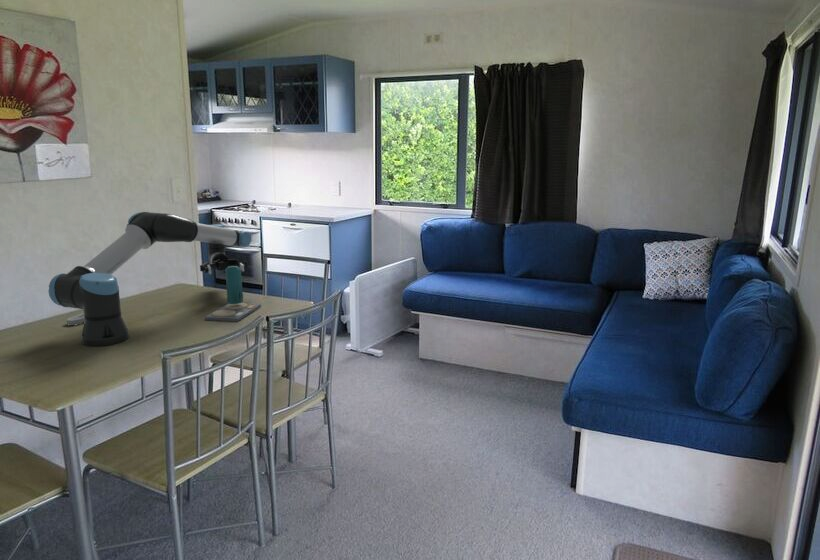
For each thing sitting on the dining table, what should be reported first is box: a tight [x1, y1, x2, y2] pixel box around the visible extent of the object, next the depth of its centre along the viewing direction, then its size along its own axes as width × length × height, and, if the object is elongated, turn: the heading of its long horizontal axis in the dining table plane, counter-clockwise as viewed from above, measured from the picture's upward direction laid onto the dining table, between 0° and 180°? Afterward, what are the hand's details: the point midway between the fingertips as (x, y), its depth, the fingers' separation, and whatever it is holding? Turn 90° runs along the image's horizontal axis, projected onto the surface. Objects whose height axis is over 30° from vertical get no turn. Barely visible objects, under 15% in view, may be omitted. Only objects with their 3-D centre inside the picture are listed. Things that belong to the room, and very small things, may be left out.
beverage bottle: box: [224, 258, 244, 304], centre depth 248 cm, size 6×7×20 cm
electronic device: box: [66, 312, 85, 326], centre depth 235 cm, size 5×10×15 cm
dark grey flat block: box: [204, 302, 262, 322], centre depth 245 cm, size 22×14×2 cm, turn 170°
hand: (226, 269), depth 255 cm, fingers open, 13 cm apart
